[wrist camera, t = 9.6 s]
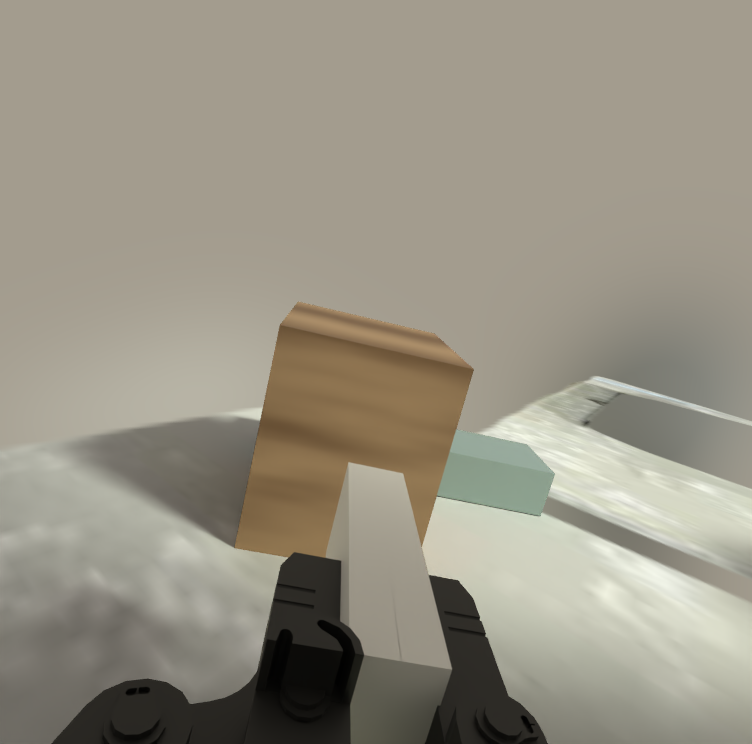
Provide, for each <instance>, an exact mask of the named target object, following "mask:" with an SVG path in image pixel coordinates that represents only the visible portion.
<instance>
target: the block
mask: <svg viewBox="0 0 752 744" xmlns="http://www.w3.org/2000/svg"><path fill="white" fill-rule="evenodd" d="M473 371H474V370H473V368H472V367H471V366H469V365H468V364H467V363H466V362H465V361H464V360H463V359H462V358H461V357H459V356H458V355H457V354H456V353H455V352H454V351H453V350H452V349H451V348H450V347H448V346H447V345H446V344H445V343H444V342H443V341H442V340H441V339H440V338H438V337H437V336H436V335H435V334H433V333H429V332H425V331H421V330H416V329H412V328H408V327H404V326H400V325H395V324H391V323H386V322H382V321H378V320H374V319H370V318H365V317H361V316H357V315H353V314H348V313H344V312H340V311H336V310H331V309H327V308H323V307H318V306H315V305H310V304H306V303H302V302H297V304H296V305H295V306H294V308H293V309H292V310H291V312H290V313H289V314H288V315H287V317H286V318H285V319H284V320H283V322H282V323H281V324H280V327H279V332H278V337H277V342H276V347H275V352H274V356H273V361H272V366H271V372H270V376H269V381H268V386H267V391H266V395H265V400H264V405H263V410H262V415H261V420H260V425H259V430H258V435H257V440H256V444H255V449H254V454H253V459H252V464H251V469H250V474H249V479H248V484H247V489H246V493H245V498H244V503H243V508H242V513H241V518H240V523H239V528H238V533H237V538H236V542H235V547H234V548H237V549H243V550H249V551H254V552H260V553H266V554H272V555H278V556H283V557H290V556H291V555H292V554H293V553H294V552H297V553H302V554H308V555H313V556H319V557H324V558H326V550H327V546H328V542H329V538H330V534H331V530H332V526H333V522H334V518H335V514H336V510H337V506H338V502H339V498H340V494H341V490H342V486H343V482H344V478H345V474H346V470H347V466H348V462H350V463H355V464H360V465H365V466H369V467H374V468H379V469H384V470H389V471H394V472H398V473H403V475H404V479H405V483H406V487H407V491H408V495H409V499H410V503H411V507H412V511H413V515H414V519H415V523H416V527H417V531H418V535H419V539H420V543H421V547H422V544H423V541H424V537H425V534H426V531H427V527H428V524H429V520H430V517H431V514H432V510H433V507H434V503H435V500H436V497H437V493H438V490H439V486H440V483H441V480H442V476H443V473H444V469H445V466H446V463H447V459H448V456H449V452H450V449H451V446H452V442H453V439H454V435H455V432H456V429H457V425H458V421H459V418H460V415H461V411H462V408H463V405H464V401H465V398H466V394H467V391H468V388H469V384H470V381H471V377H472V374H473Z"/></svg>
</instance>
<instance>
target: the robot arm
mask: <svg viewBox="0 0 752 744" xmlns="http://www.w3.org/2000/svg"><path fill="white" fill-rule="evenodd" d="M485 634H486V633H485V630H484V627H483V625H482V622H481V621H480V616H479V613H478V611H477V608H476V605H475V602H474V600H473V598H472V597H471V595H470V594H469V593H468V592H467V591H466V589H465V588H464V587H463V586H462V585H461V584H460V582H459V581H458V580H453V579H447V578H442V577H437V576H431V575H428V571H427V567H426V563H425V559H424V555H423V551H422V547H421V543H420V539H419V535H418V531H417V527H416V523H415V519H414V515H413V511H412V507H411V503H410V499H409V495H408V491H407V487H406V483H405V479H404V475H403V473H398V472H394V471H389V470H384V469H379V468H374V467H369V466H365V465H360V464H355V463H350V462H348V466H347V470H346V474H345V478H344V482H343V486H342V490H341V494H340V498H339V502H338V506H337V510H336V514H335V518H334V522H333V526H332V530H331V534H330V538H329V542H328V546H327V550H326V558H324V557H319V556H313V555H308V554H302V553H297V552H294V553H293V554H292V555H291V556H290V557H289V558H288V559H287V560H286V561H285V562H284V563H283V564H282V565H281V567H280V572H279V576H278V580H277V585H276V589H275V593H274V598H273V602H272V607H271V611H270V615H269V620H268V624H267V628H266V633H265V638H264V642H263V647H262V652H261V656H260V661H259V666H258V670H257V673H256V674H255V675H254V677H253V678H252V679H251V681H250V682H249V683H248V684H247V685H246V686H244V687H243V688H242V689H241V690H239V691H238V692H236V693H234V694H232V695H230V696H228V697H226V698H222V699H218V700H214V701H210V702H203V703H196V704H189V702H188V700H187V699H186V697H185V696H184V694H183V692H181V691H180V690H178V689H177V688H175V687H173V686H172V685H170V684H169V683H167V682H162V681H157V680H152V679H140V680H132V681H125V682H123V683H121V684H118V685H116V686H113V687H111V688H109V689H106V690H104V691H103V692H102V693H101V694H99V695H98V696H97V697H96V698H94V699H93V700H92V701H91V702H90V703H88V704H87V705H86V706H85V707H84V708H83V709H82V710H81V712H80V713H79V714H78V715H77V716H76V717H75V718H74V719H73V720H72V722H71V723H70V724H69V725H68V726H67V727H66V728H65V729H64V730H63V732H62V733H61V734H60V735H59V736H58V737H57V738H56V739H55V740H54V742H53V743H52V744H548V743H547V741H546V738H545V736H544V733H543V732H542V730H541V728H540V727H539V725H538V723H537V722H536V720H535V718H534V717H533V716H532V715H531V714H530V713H529V712H528V711H527V710H526V709H525V708H524V707H523V706H522V705H521V704H520V703H518V702H517V701H515V700H514V699H512V698H510V697H509V696H508V694H507V691H506V688H505V685H504V683H503V680H502V677H501V674H500V672H499V669H498V666H497V663H496V661H495V658H494V655H493V652H492V649H491V647H490V644H489V641H488V638H487V637H485Z"/></svg>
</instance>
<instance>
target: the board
mask: <svg viewBox="0 0 752 744" xmlns="http://www.w3.org/2000/svg"><path fill="white" fill-rule="evenodd" d="M554 475H555V473H554V472H553V471H552V470H551V469H550V468H549V467H548V466H547V465H546V464H545V463H544V462H543V461H542V460H541V459H540V458H539V457H538V456H537V455H536V453H535V452H534V451H533V450H532V449H531V448H530V447H529V446H528V445H527V444H522V443H518V442H513V441H508V440H504V439H499V438H494V437H490V436H485V435H480V434H475V433H471V432H466V431H461V430H457V429H456V432H455V435H454V439H453V442H452V446H451V449H450V452H449V456H448V459H447V463H446V466H445V469H444V473H443V476H442V480H441V483H440V486H439V490H438V493H437V496H441V497H446V498H451V499H456V500H461V501H466V502H471V503H476V504H482V505H487V506H492V507H497V508H502V509H507V510H512V511H517V512H522V513H527V514H532V515H538V516H541V513H542V510H543V507H544V504H545V501H546V498H547V496H548V493H549V490H550V487H551V484H552V481H553V478H554Z"/></svg>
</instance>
